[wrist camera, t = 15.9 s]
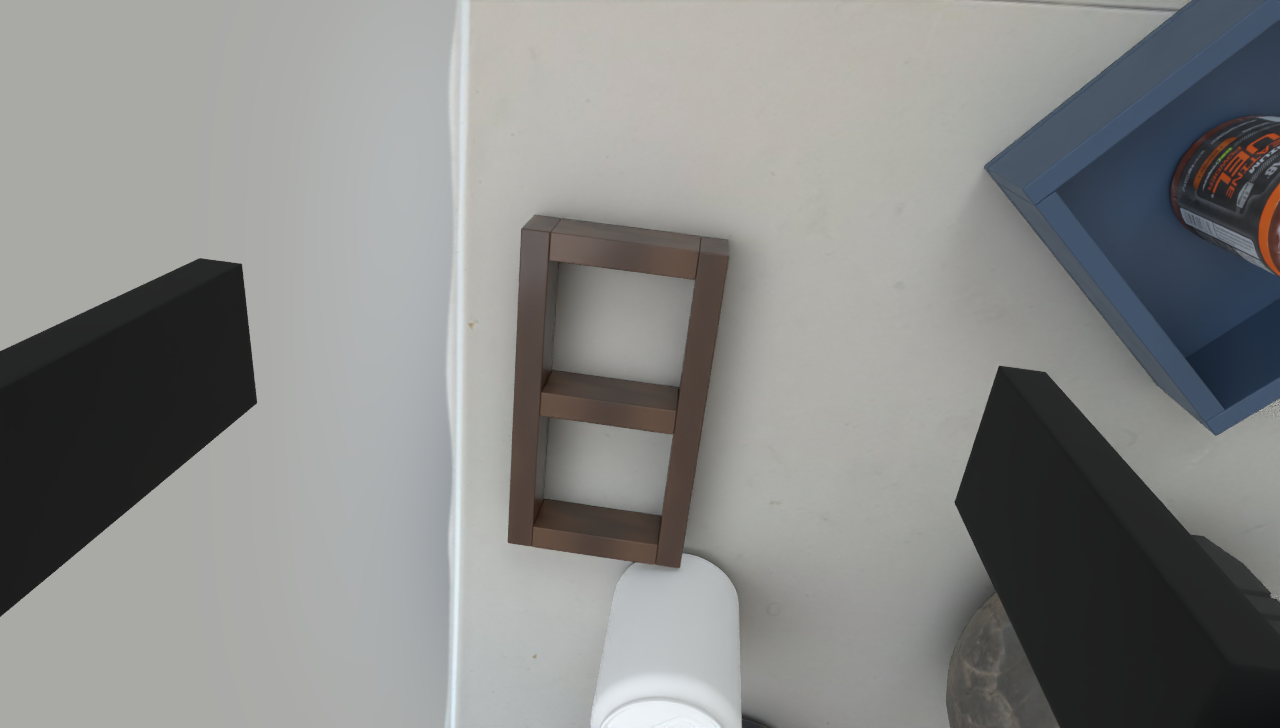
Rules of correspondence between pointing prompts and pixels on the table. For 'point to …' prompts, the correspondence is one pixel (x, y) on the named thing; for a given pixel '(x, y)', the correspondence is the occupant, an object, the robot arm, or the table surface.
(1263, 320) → the blue square tray
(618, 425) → the rack
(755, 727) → the canister
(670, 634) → the beverage can
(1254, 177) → the supplement bottle
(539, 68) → the table surface
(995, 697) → the bowl
